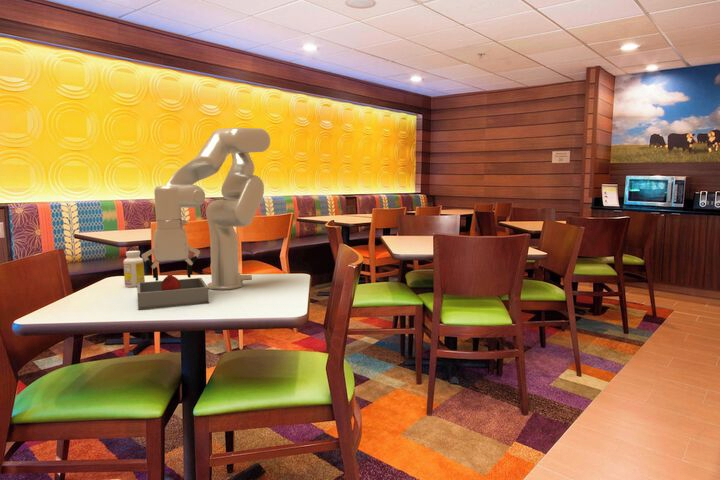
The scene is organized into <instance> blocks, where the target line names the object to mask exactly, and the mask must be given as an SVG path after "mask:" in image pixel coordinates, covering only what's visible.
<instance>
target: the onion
mask: <svg viewBox="0 0 720 480" xmlns="http://www.w3.org/2000/svg"><path fill="white" fill-rule="evenodd" d="M179 280H180V279H178V278H177V277H176V276H174V275H173V273H172V272H169V273H168V274H167V276H166V277H164V279H163V280H161V281H162V284H161V290H162V291H166V290H178V289H180V288H181V284H180V281H179Z"/></svg>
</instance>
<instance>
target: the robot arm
mask: <svg viewBox="0 0 720 480" xmlns="http://www.w3.org/2000/svg"><path fill="white" fill-rule="evenodd" d="M270 145H271V136H270V135H269V132H267V130H265V129H263V128H258V127H257V128H256V127H255V128H254V127H253V128H252V127H251V128H250V127H249V128H248V127H227V128H219V129H216V130H214V131H213V132H212V133H211V135H210V136H209V137H208V139H207V141H206V142H205V144H204V145H203V146H202V147H201V149H200V151H199V152H198V154H197V155H196V156H195V157H194V158H193V159H191V160H190V161H188V162H186V164H185V165H183V166H181V167H180V168H179V169H177V171H175V172H174V173H173V175H171V177H170V178H169V180H168V181H167V183H165V185H160V186H159V185H158V186H156V187H154V205H155V218H156V220H155V221H156V229H155V230H154V233H153V247H152V248H151V249H149V250H147V251H146V252H144V253H142V254H141V258H142V259H143V262H145V263H146V264H147V265H148V266H149V267H150V268H152V277H153V279H155V281H159V273H158V265H159V264H160V262H161V263H162V262H164V263H165V262H175V261H185V262H186V263H187V264H186V273H187V274H186V275H187V278H188V279H192V278H191V277H192V275H193V264H194V263H195V262H196V261H197V260H198V257H199V256H200V254H201V251H200V250H199V249H197V248H195V247H192V246H189V244H188V238H187V237H188V236H187V231H186V229H185V228H183V226H186V225H188V221H187V220H184V219H183V217H182V208H187V209H190V208H191V209H192V208H193V209H194V208H197V207H198V208H199V207H200V206H201V205H203V203H204V202H205V199H206V193H205V191H204V189H203V188H202V187H200V186H199V185H197V184H196V183H197V182H199V181H202V180H205V179H207V178H210V177H212V176H213V175H216V173H217V174H218V172H219V171H220V169H221V167H222V166H223V164H224V162H225V161H226V159H227V158H228V157H229V155H230V154H231V158H232V162H231V165H230V168H229V170H228V173H227V175H226V176H225V179H224V181H223V183H222V186H221V188H220V189H221V195H222V197H223V198H224V199H215V200H212V201H211V202H210V203H208V205H207V207H206V210H205V214H206V215H205V216H206V221H207V225H208V230H209V242H210V245H209V247H210V267H211V268H210V269H211V271H210V272H211V282H209V283H207V284H206V285H207V286H208V290H209V289H210V290H218V291H219V290H220V291H223V290H233V289H239V288H242V287H243V286H244V281H252V280H253V275H252V274H241V273H240V272H239V250H238V249H239V248H238V247H239V245H238V244H239V243H238V240H239V239H238V234H237V232H236V230H235V229H234V228H235V227H236V228H240V227H241V228H243V227H247V226H249V225H250V224H252V222H253V220H254V218H255V216H256V214H257V212H258V209H259V206H260V204H261V203H262V199H263V196H264V192H265V185H264V182H263V180H262V179H261V177H260V176H257V175H255V174H254V173H255V164H254V162H253V159H252V157H251V155H250V153H264V152H266V151H267V150H268V149H269V148H270ZM190 252H192V253H194V255H193V256H192V258H191V259H190V258H189V256H190V254H189V253H190ZM151 255H153V256H154V261H152V260H150V258H149V257H150V256H151Z"/></svg>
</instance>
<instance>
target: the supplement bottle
mask: <svg viewBox="0 0 720 480" xmlns="http://www.w3.org/2000/svg"><path fill="white" fill-rule="evenodd" d="M140 255H141V251H140V250H128V251H127V250H126V251H125V256H126V258H125V259H123V274H124V276H123V278H124V285H125V288H137V283H141V282H146V281H145V266H144V259H143V258H142V257H140Z"/></svg>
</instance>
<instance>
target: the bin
mask: <svg viewBox="0 0 720 480" xmlns="http://www.w3.org/2000/svg"><path fill="white" fill-rule="evenodd" d="M178 280H179V281H180V284H181V288H180V289H178V290H166V291H162V290H161V284H162V281H163V280H158V281H156V280H155V281H154V280H153V281H145V282H141V283H137V287H136V288H137V290H136V292H137V308H138V309H137V310H138V311H143V310H153V309H155V310H156V309H164V308H173V307H182V306H184V307H185V306H193V305H194V306H195V305H204V304H205V305H206V304H210V302H209V288H208V286H207V284H206V283H205V281H204V280H203V278H202V277H196V278H195V277H194V278H184V279H183V278H181V279H178Z"/></svg>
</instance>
